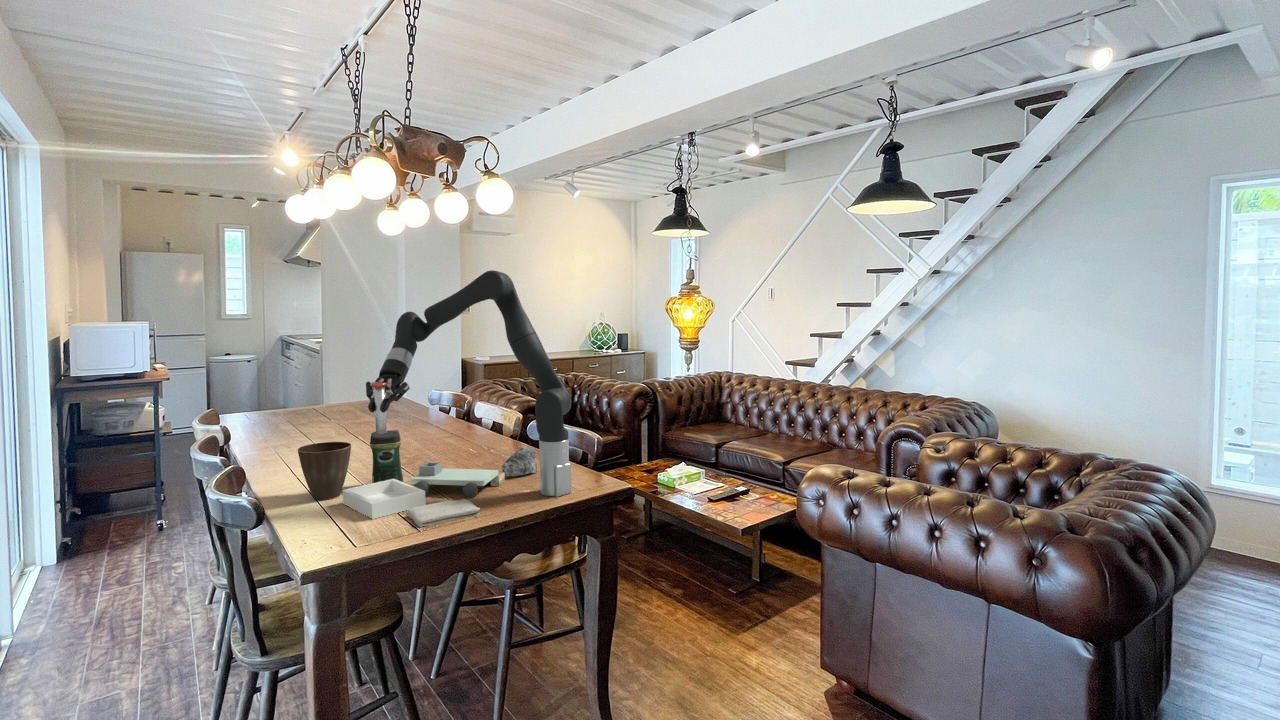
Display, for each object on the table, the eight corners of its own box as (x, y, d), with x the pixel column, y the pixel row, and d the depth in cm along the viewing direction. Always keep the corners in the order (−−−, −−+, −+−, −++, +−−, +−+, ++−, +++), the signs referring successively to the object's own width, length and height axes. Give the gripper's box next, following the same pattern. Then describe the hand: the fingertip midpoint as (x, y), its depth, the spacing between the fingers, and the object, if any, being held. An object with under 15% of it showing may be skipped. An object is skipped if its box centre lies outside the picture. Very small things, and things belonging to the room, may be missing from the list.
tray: (425, 505, 183) (425, 490, 183) (372, 519, 171) (371, 503, 171) (394, 492, 197) (393, 478, 196) (343, 504, 185) (342, 489, 184)
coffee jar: (403, 481, 209) (401, 427, 208) (403, 487, 202) (400, 432, 200) (372, 484, 206) (370, 429, 205) (371, 490, 199) (368, 434, 197)
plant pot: (335, 487, 203) (333, 439, 202) (363, 493, 195) (361, 444, 194) (290, 499, 190) (287, 448, 189) (318, 507, 183) (315, 454, 181)
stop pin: (392, 432, 183) (389, 382, 181) (377, 434, 179) (375, 384, 178) (385, 430, 186) (383, 381, 184) (370, 432, 182) (368, 382, 181)
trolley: (500, 483, 206) (499, 460, 205) (481, 498, 190) (481, 472, 189) (432, 481, 209) (431, 458, 208) (409, 495, 193) (408, 470, 192)
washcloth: (482, 516, 175) (482, 505, 175) (418, 530, 164) (418, 519, 164) (468, 505, 184) (467, 495, 184) (406, 518, 174) (406, 507, 174)
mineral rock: (502, 480, 209) (501, 451, 209) (499, 472, 220) (498, 445, 219) (540, 477, 214) (539, 448, 213) (534, 469, 224) (534, 442, 223)
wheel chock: (504, 481, 208) (504, 472, 207) (499, 486, 203) (499, 476, 202) (496, 481, 208) (495, 472, 208) (490, 485, 203) (490, 476, 203)
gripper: (370, 357, 189) (348, 403, 178) (413, 357, 187) (393, 403, 176) (380, 372, 195) (360, 417, 184) (422, 373, 193) (403, 418, 182)
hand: (376, 410), depth 180 cm, fingers closed on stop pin, 3 cm apart
